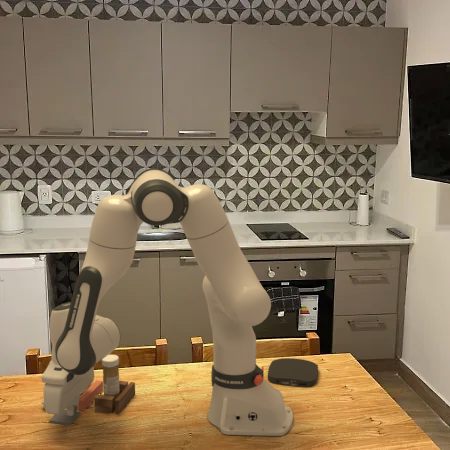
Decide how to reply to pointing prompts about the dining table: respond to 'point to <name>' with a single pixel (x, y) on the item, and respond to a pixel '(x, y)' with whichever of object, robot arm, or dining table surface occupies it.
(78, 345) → the robot arm
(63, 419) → the pad
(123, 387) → the brown u-shaped channel
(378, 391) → the dining table surface
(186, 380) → the dining table surface
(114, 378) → the sprinkles bottle
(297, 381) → the media streaming box
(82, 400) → the salmon red bar
